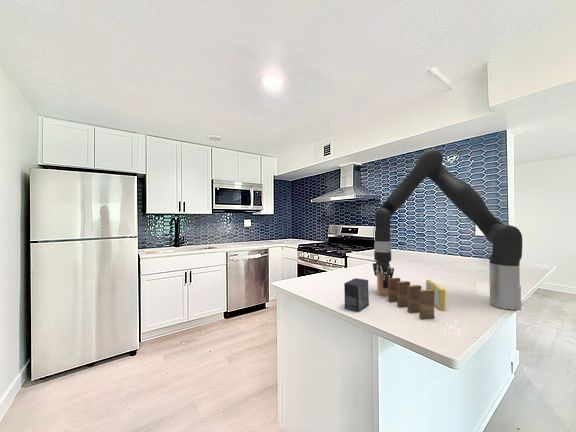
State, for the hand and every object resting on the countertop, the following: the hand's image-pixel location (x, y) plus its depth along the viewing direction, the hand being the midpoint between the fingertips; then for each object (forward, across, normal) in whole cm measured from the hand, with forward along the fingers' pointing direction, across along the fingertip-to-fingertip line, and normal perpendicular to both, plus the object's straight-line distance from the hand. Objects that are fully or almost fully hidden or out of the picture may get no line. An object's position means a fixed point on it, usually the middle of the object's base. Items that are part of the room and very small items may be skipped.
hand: (382, 286), depth 115 cm
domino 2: (+4, -9, +1) cm, 10 cm away
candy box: (+4, -16, -14) cm, 21 cm away
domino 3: (+4, -15, +1) cm, 16 cm away
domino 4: (+4, -21, +1) cm, 22 cm away
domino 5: (+4, -27, +1) cm, 28 cm away
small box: (+4, -11, +20) cm, 23 cm away
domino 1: (+4, 0, 0) cm, 4 cm away
